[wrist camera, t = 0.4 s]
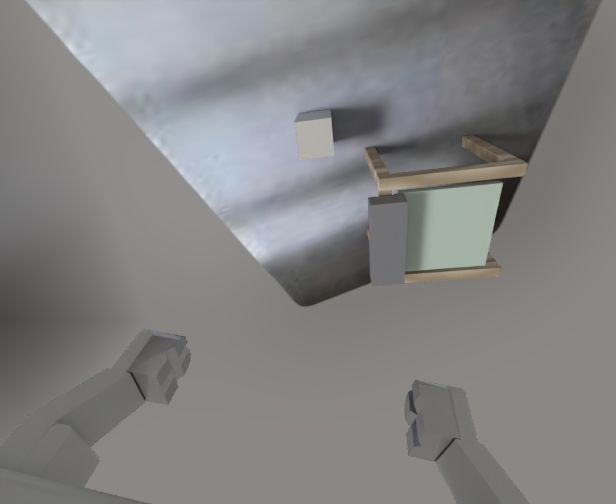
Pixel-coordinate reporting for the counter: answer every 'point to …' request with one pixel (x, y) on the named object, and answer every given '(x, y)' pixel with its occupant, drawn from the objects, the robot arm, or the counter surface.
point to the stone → (314, 134)
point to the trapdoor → (431, 229)
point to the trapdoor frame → (496, 168)
